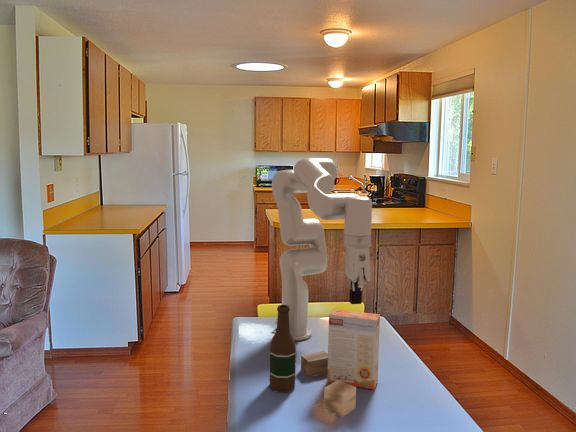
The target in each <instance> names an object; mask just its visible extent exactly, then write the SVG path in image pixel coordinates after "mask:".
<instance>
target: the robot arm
mask: <svg viewBox="0 0 576 432" xmlns="http://www.w3.org/2000/svg"><path fill="white" fill-rule="evenodd" d="M337 175H338V168H337V165H336V163H335V162H334V161H333V160H332V159H331V158H327V157H324V158H323V157H307V158H306V157H305V158H302V159H299V160H298V161H297V162H295V164H294V166H293V169H284V170H283V169H282V170H279V171H277V172H275V173H274V175H273V177H272V180H271V192H272V195H273V198H274V200H275V203H276V207H277V211H278V212H277V214H278V221H279V229H280V230H279V231H280V238H281V241H282V243H283V244H284V245H286V246H292V247H293V246H306V245H308V246H309V248H306V247H305V248H296V249H295V248H294V249H288V250H286V251H284V252H282V253H281V255H280V257H279V269H280V275H281V305H287V306H289V308H290V311H289V328H290V333H291V334H292V336H293V337H294V340H295V342H296V341H297V342H298V341H303V340H307V339H309V338H310V337H311V336H312V334H313V333H312V332H313V331H312V329H310V328H309V327H308V325H309V320H308V319H309V286H308V284H307V282H306V281H305V280H304V278H303V276H310V275H317V274H322V273H324V272H325V271H326V270H327V268H328V254H327V244H326V235H325V230H324V229H325V228H324V225H323V224H322V222H321V221H320V220H319V219H321V220H322V221H323V220H324V221H334V220H344V221H343V223H344V224H343V226H344V228H343V246H344V247H345V258H344V259H345V260H344V261H345V262H344V270H345V271H344V272H345V275H346V276H347V277H348V279H349V281H348V282H349V300H348V301H349V303H350V304H351V305H361V304H362V301H363V299H362V298H363V289H364V287H365V286H364V285H365V283H364V282H366V283H369V282H371V253H370V247H371V245H372V243H371V242H372V221H373V220H372V217H373V216H372V214H373V213H372V212H373V202H372V201H373V200H372V199H371V198H370V197H367V196H360V195H359V194H356V193H332V191H333V189H334V188H335V180H336V178H337ZM294 194H306V198H307V199H306V200H307V204H308V207H309V209H310V211H312V213H314V215H315V216H317V217H318V218H319V219H317V218H314V217H312V218H311V217H310V218H309V217H307V218H304V217H303V211H302V210H303V208H302V205H301V203H300V202H299V200H298V199H297V198H296V196H294ZM277 320H278V317H277V318H276V320H275V321H274V325H277Z"/></svg>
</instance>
